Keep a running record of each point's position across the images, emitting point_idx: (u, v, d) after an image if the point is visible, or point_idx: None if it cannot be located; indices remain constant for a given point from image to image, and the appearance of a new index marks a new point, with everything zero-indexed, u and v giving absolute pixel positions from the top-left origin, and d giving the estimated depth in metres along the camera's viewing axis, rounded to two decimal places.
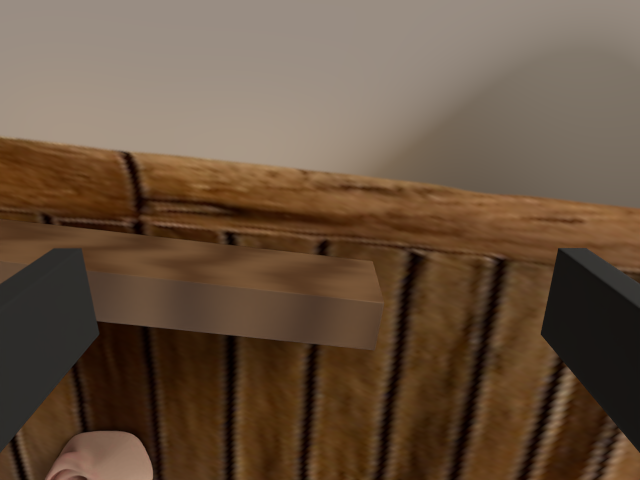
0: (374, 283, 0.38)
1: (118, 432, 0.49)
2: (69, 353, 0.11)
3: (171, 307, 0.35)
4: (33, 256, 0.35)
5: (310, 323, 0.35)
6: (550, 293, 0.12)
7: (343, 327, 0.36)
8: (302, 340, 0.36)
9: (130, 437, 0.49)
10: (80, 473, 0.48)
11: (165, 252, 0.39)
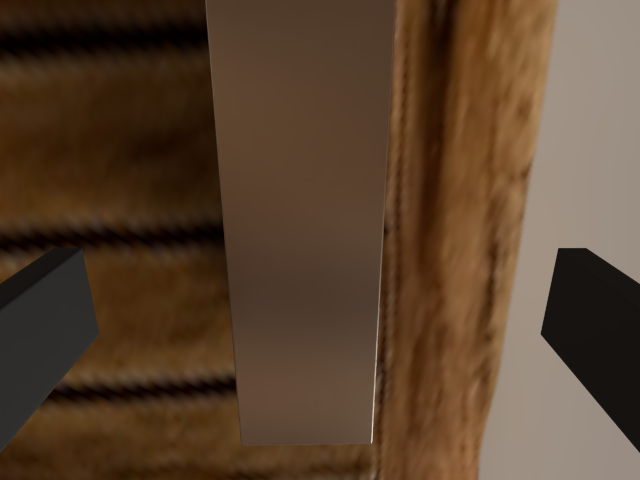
0: None
1: None
2: (70, 354, 0.11)
3: None
4: None
5: (292, 300, 0.13)
6: (551, 293, 0.12)
7: (295, 374, 0.14)
8: (235, 286, 0.13)
9: None
10: None
11: None
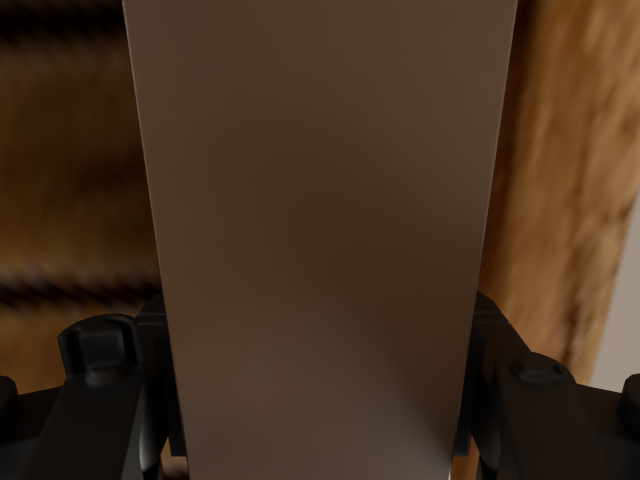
0: None
1: None
2: None
3: None
4: None
5: (298, 471, 0.07)
6: None
7: None
8: (197, 449, 0.07)
9: None
10: None
11: None
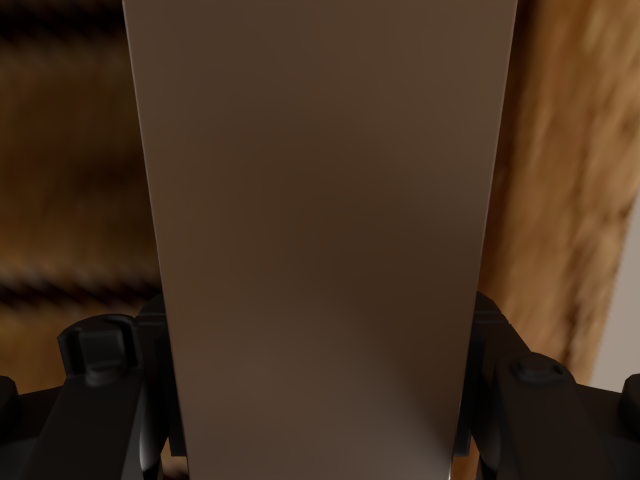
0: None
1: None
2: None
3: None
4: None
5: (298, 471, 0.07)
6: None
7: None
8: (197, 449, 0.07)
9: None
10: None
11: None
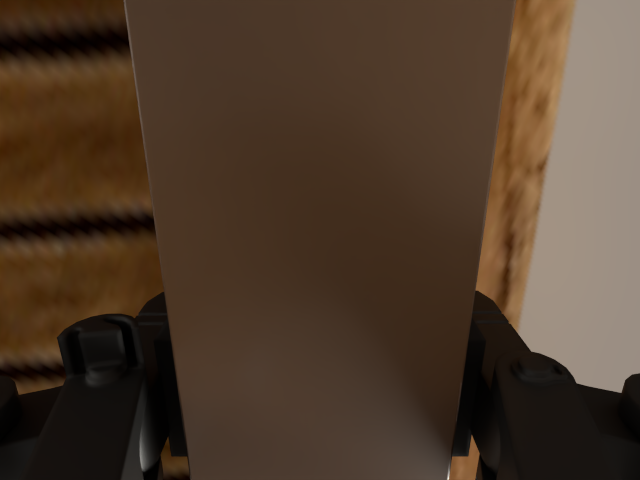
0: None
1: None
2: None
3: None
4: None
5: (298, 468, 0.07)
6: None
7: None
8: (198, 447, 0.07)
9: None
10: None
11: None
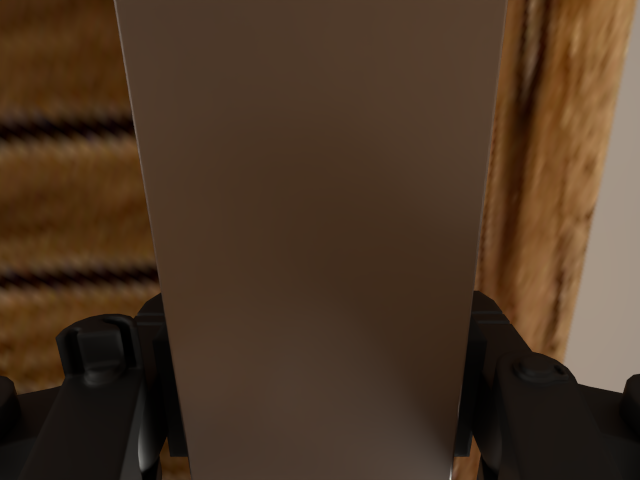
0: None
1: None
2: None
3: None
4: None
5: (299, 469, 0.07)
6: None
7: None
8: (198, 449, 0.07)
9: None
10: None
11: None
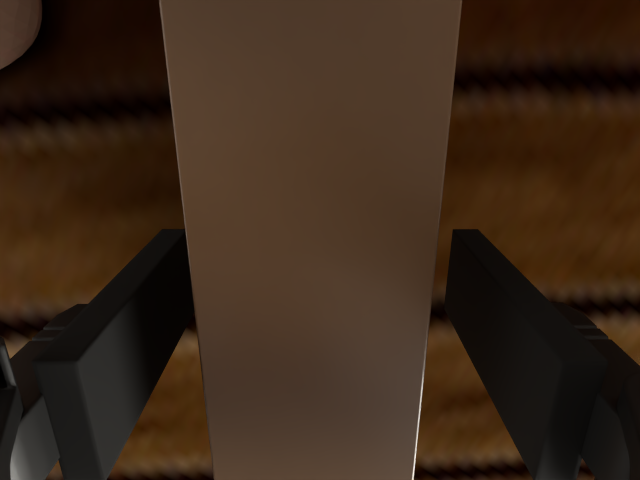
0: None
1: None
2: (181, 322, 0.13)
3: None
4: None
5: (295, 400, 0.09)
6: (449, 270, 0.14)
7: None
8: (213, 380, 0.09)
9: (28, 24, 0.13)
10: None
11: None
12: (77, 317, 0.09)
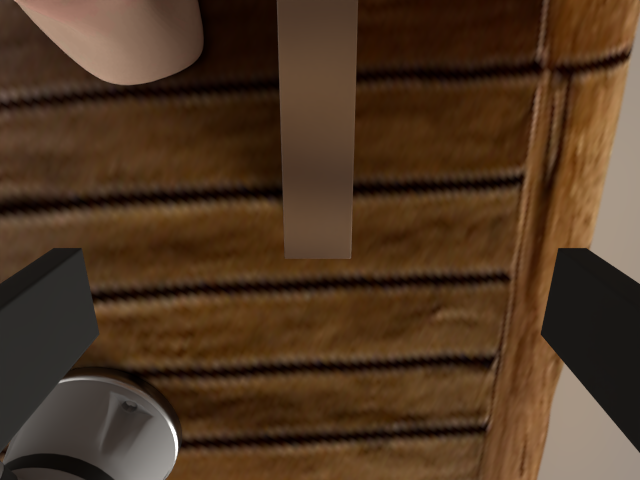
0: None
1: (202, 30, 0.32)
2: (69, 354, 0.11)
3: None
4: None
5: (311, 177, 0.28)
6: (550, 293, 0.12)
7: (312, 217, 0.29)
8: (285, 169, 0.27)
9: (198, 51, 0.32)
10: None
11: None
12: None
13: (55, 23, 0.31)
